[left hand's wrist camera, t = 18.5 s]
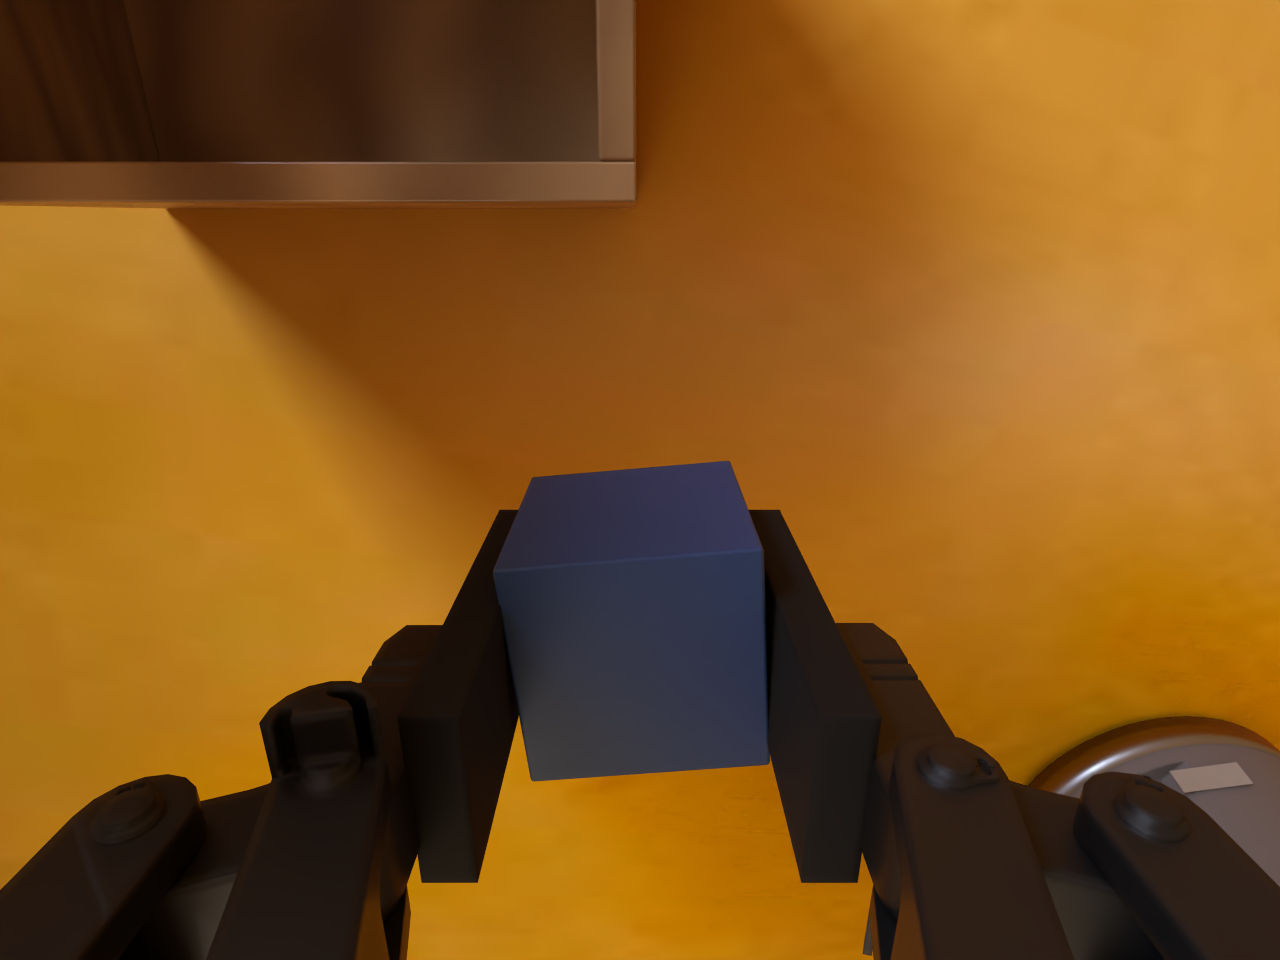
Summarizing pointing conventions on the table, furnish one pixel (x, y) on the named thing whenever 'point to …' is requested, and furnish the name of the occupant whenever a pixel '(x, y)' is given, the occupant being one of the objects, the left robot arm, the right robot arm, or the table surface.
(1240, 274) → the table surface
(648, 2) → the table surface
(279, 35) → the chest
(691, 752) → the block
